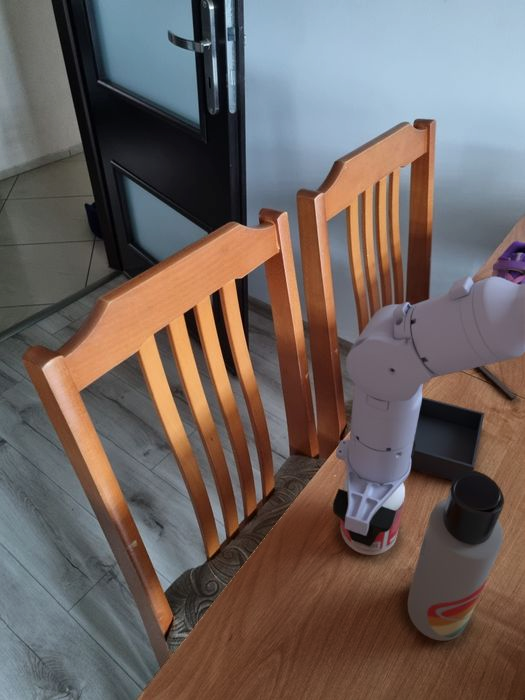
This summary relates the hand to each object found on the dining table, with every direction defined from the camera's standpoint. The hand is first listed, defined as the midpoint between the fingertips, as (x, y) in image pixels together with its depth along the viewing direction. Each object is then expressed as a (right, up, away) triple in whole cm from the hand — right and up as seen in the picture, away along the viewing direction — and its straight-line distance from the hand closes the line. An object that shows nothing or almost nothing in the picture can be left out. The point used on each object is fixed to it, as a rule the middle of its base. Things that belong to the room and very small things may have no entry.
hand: (370, 513), depth 59 cm
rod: (+18, +16, +22) cm, 33 cm away
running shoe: (+27, +23, +30) cm, 47 cm away
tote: (+10, +5, +11) cm, 16 cm away
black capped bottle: (+6, -8, -5) cm, 11 cm away
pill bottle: (0, -3, +2) cm, 4 cm away
